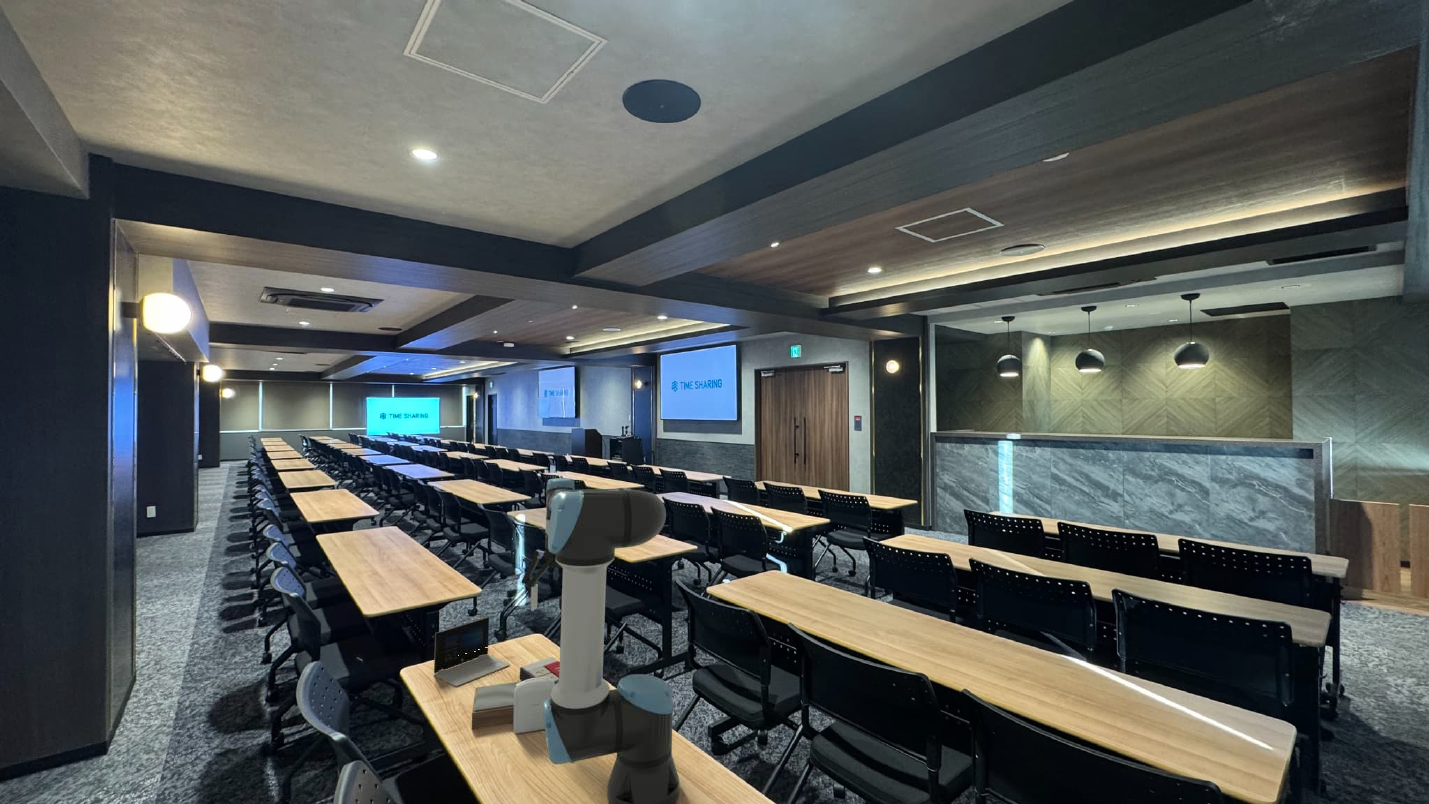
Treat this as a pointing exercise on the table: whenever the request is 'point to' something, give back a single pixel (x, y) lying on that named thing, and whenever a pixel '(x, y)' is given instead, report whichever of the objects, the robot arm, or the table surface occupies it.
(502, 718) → the mirror
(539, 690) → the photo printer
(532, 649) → the table surface
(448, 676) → the laptop
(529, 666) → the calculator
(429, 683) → the table surface
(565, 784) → the table surface
